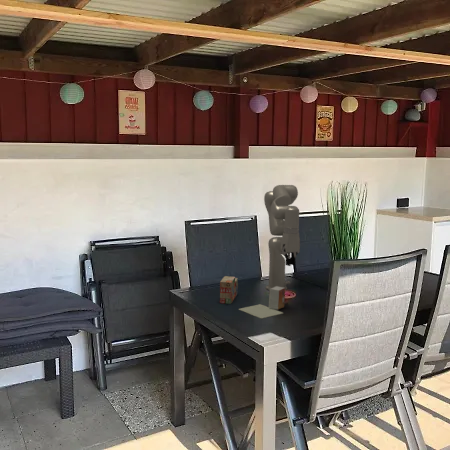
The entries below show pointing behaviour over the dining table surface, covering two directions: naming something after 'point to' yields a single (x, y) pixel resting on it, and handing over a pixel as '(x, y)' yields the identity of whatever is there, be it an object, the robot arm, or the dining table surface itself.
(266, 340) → the dining table surface
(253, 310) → the mat
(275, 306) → the small box
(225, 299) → the stack of blocks
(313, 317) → the dining table surface
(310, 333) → the dining table surface
